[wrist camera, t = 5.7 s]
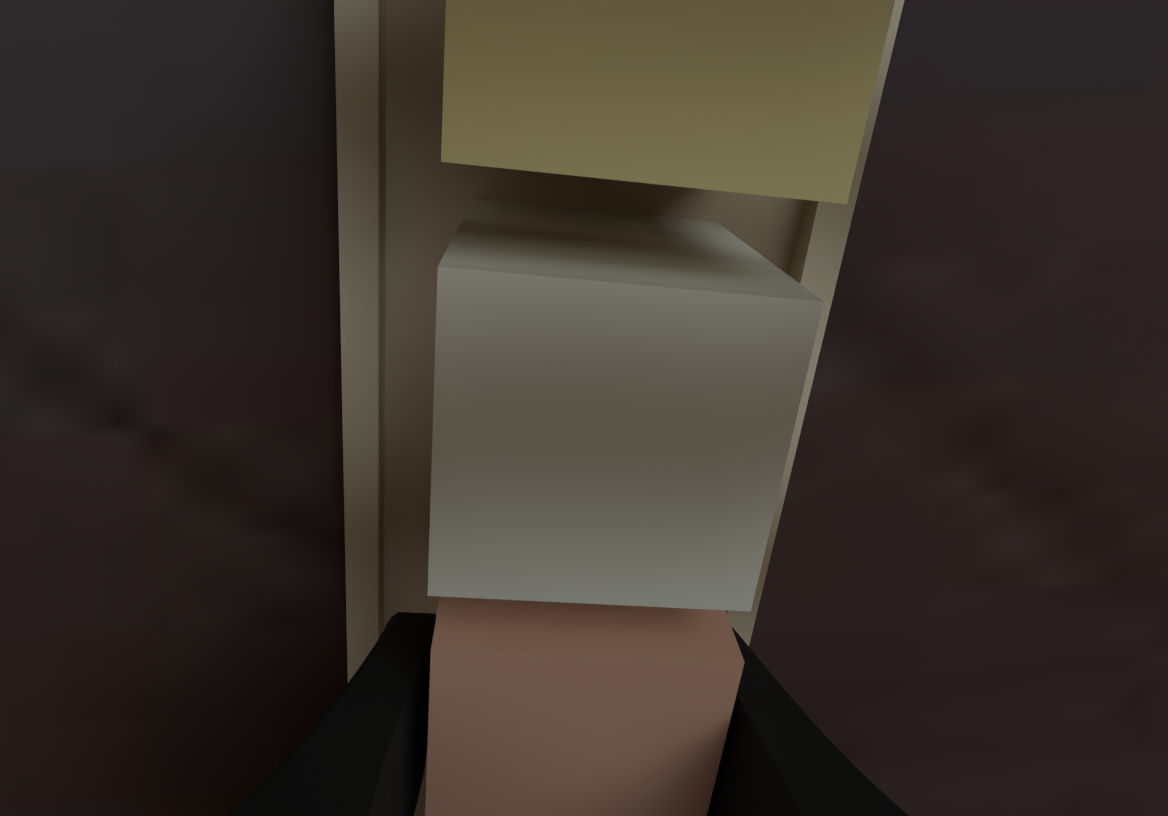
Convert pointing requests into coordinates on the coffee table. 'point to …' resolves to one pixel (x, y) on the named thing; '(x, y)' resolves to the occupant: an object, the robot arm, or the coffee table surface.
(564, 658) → the terracotta block
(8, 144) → the coffee table surface
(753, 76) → the rack
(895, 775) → the coffee table surface
